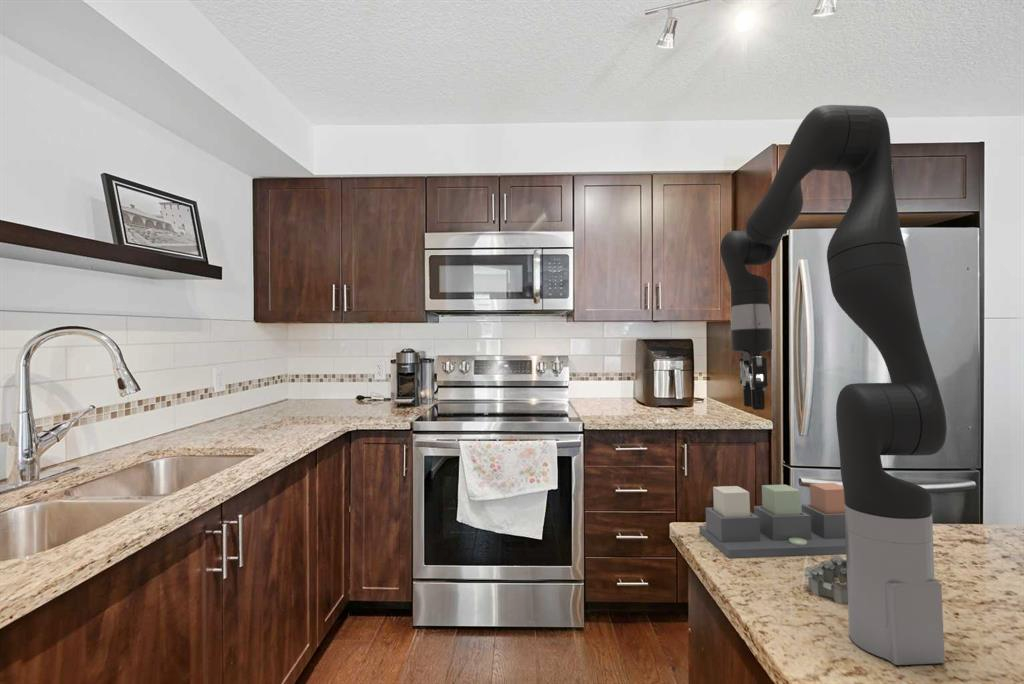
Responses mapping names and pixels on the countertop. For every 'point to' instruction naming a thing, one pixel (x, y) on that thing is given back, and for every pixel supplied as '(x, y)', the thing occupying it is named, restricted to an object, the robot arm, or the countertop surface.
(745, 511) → the cream key
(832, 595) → the grey ruined fortress
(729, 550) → the key panel
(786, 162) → the robot arm
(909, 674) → the countertop surface
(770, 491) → the sage key
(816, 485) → the terracotta key
